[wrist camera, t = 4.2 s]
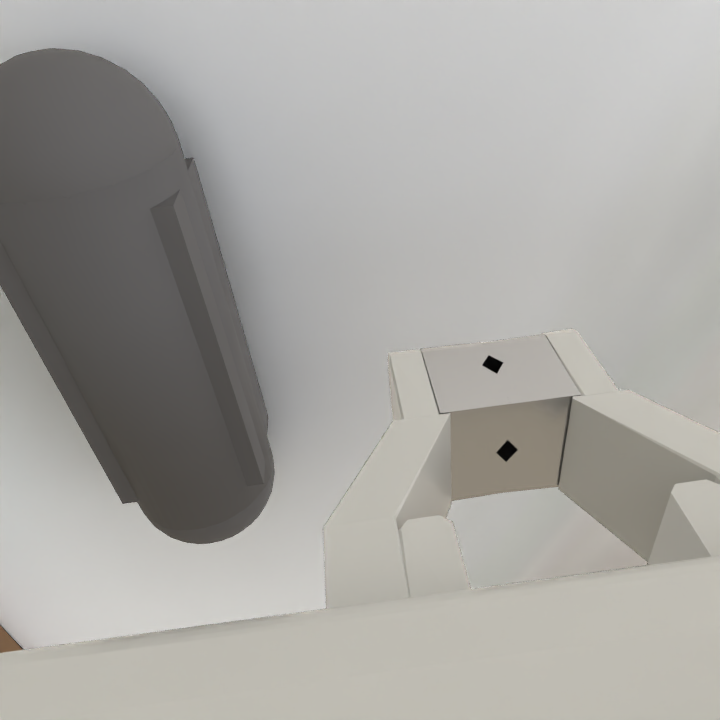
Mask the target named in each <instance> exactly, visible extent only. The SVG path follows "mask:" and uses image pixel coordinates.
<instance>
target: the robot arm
mask: <svg viewBox="0 0 720 720" xmlns="http://www.w3.org/2000/svg"><path fill="white" fill-rule="evenodd" d="M388 371H389V384H390V396H391V408H392V416H393V421H392V423H391V424H390V426H389V427H388V429H387V430H386V432H385V433H384V435H383V436H382V438H381V440H380V441H379V443H378V444H377V446H376V447H375V449H374V450H373V452H372V453H371V455H370V456H369V458H368V460H367V461H366V463H365V464H364V466H363V467H362V469H361V470H360V472H359V473H358V475H357V476H356V478H355V480H354V481H353V483H352V484H351V486H350V487H349V489H348V490H347V492H346V493H345V495H344V496H343V498H342V500H341V501H340V503H339V504H338V506H337V507H336V509H335V510H334V512H333V513H332V515H331V516H330V518H329V520H328V521H327V523H326V524H325V526H324V527H323V541H324V567H325V593H326V609H320V610H313V611H305V612H298V613H290V614H283V615H276V616H268V617H261V618H254V619H246V620H239V621H231V622H224V623H217V624H209V625H202V626H195V627H187V628H180V629H172V630H165V631H158V632H150V633H143V634H136V635H128V636H121V637H114V638H106V639H99V640H91V641H84V642H77V643H69V644H62V645H55V646H47V647H40V648H33V649H25V650H18V651H11V652H3V653H0V720H720V433H719V432H717V431H714V430H712V429H710V428H708V427H706V426H704V425H702V424H700V423H698V422H696V421H693V420H691V419H689V418H687V417H685V416H683V415H681V414H679V413H677V412H675V411H672V410H670V409H668V408H666V407H664V406H662V405H660V404H658V403H656V402H654V401H651V400H649V399H647V398H645V397H643V396H641V395H639V394H637V393H635V392H633V391H630V390H622V391H619V390H618V389H617V387H616V386H615V384H614V383H613V381H612V380H611V379H610V377H609V376H608V374H607V373H606V371H605V370H604V369H603V367H602V366H601V364H600V363H599V361H598V360H597V358H596V357H595V356H594V354H593V353H592V351H591V350H590V348H589V347H588V346H587V344H586V343H585V341H584V340H583V338H582V337H581V336H580V334H579V333H578V331H576V330H574V329H572V328H571V329H565V330H559V331H552V332H546V333H541V334H540V335H533V336H525V337H518V338H511V339H503V340H496V341H489V342H476V343H467V344H458V345H449V346H440V347H430V348H421V349H420V350H419V349H413V350H406V351H398V352H390V353H388ZM550 487H559V488H558V489H559V490H560V491H561V492H563V493H564V494H565V495H566V496H567V497H569V498H570V499H571V500H572V501H574V502H575V503H576V504H577V505H578V506H580V507H581V508H582V509H583V510H585V511H586V512H587V513H588V514H589V515H591V516H592V517H593V518H594V519H596V520H597V521H598V522H599V523H601V524H602V525H603V526H604V527H605V528H607V529H608V530H609V531H610V532H612V533H613V534H614V535H615V536H616V537H618V538H619V539H620V540H621V541H623V542H624V543H625V544H626V545H628V546H629V547H630V548H631V549H632V550H634V551H635V552H636V553H637V554H639V555H640V556H641V557H642V558H643V559H645V560H646V561H647V562H648V564H647V565H645V566H637V567H630V568H622V569H615V570H608V571H600V572H593V573H586V574H578V575H571V576H563V577H556V578H549V579H541V580H534V581H526V582H519V583H512V584H504V585H497V586H490V587H482V588H475V589H471V587H470V583H469V579H468V576H467V572H466V568H465V565H464V561H463V557H462V554H461V550H460V547H459V543H458V539H457V536H456V532H455V528H454V525H453V522H452V521H450V520H448V519H446V517H447V514H448V512H449V509H450V507H451V504H452V501H454V500H460V499H466V498H472V497H478V496H485V495H491V494H497V493H503V492H513V491H522V490H531V489H541V488H550Z"/></svg>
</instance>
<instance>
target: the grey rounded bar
mask: <svg viewBox="0 0 720 720" xmlns="http://www.w3.org/2000/svg"><path fill="white" fill-rule="evenodd" d="M0 285H1V287H2V289H3V291H4V292H5V294H6V296H7V298H8V300H9V301H10V303H11V305H12V307H13V308H14V310H15V312H16V314H17V316H18V317H19V319H20V321H21V323H22V325H23V326H24V328H25V330H26V332H27V333H28V335H29V337H30V339H31V341H32V342H33V344H34V346H35V348H36V350H37V351H38V353H39V355H40V357H41V359H42V360H43V362H44V364H45V366H46V367H47V369H48V371H49V373H50V375H51V376H52V378H53V380H54V382H55V384H56V385H57V387H58V389H59V391H60V392H61V394H62V396H63V398H64V400H65V401H66V403H67V405H68V407H69V409H70V410H71V412H72V414H73V416H74V417H75V419H76V421H77V423H78V425H79V426H80V428H81V430H82V432H83V434H84V435H85V437H86V439H87V441H88V442H89V444H90V446H91V448H92V450H93V451H94V453H95V455H96V457H97V459H98V460H99V462H100V464H101V466H102V468H103V469H104V471H105V473H106V475H107V476H108V478H109V480H110V482H111V484H112V485H113V487H114V489H115V491H116V493H117V494H118V496H119V498H120V500H121V501H122V503H123V504H124V503H131V502H138V504H139V506H140V507H141V509H142V511H143V512H144V514H145V515H146V516H147V518H148V519H149V520H150V521H151V523H152V524H153V525H154V526H155V527H156V528H158V529H159V530H161V531H162V532H163V533H165V534H167V535H168V536H170V537H171V538H174V539H177V540H180V541H183V542H187V543H194V544H208V543H214V542H218V541H222V540H225V539H227V538H230V537H232V536H234V535H236V534H238V533H239V532H241V531H243V530H244V529H245V528H246V527H248V526H249V525H250V524H252V522H253V521H254V520H255V519H256V518H257V517H258V516H259V515H260V513H261V512H262V510H263V509H264V507H265V505H266V503H267V501H268V499H269V496H270V494H271V492H272V486H273V480H274V462H273V455H272V451H271V448H270V445H269V441H268V438H267V426H268V415H267V411H266V408H265V404H264V401H263V398H262V394H261V391H260V387H259V384H258V380H257V377H256V373H255V370H254V366H253V363H252V359H251V356H250V352H249V349H248V345H247V342H246V339H245V335H244V332H243V328H242V325H241V321H240V318H239V314H238V311H237V307H236V304H235V300H234V297H233V293H232V290H231V287H230V283H229V280H228V276H227V273H226V269H225V266H224V262H223V259H222V255H221V252H220V248H219V245H218V241H217V238H216V234H215V231H214V228H213V224H212V221H211V217H210V214H209V210H208V207H207V203H206V200H205V196H204V193H203V189H202V186H201V182H200V179H199V175H198V172H197V169H196V165H195V162H194V158H189V159H184V156H183V152H182V149H181V146H180V142H179V139H178V137H177V135H176V132H175V130H174V127H173V125H172V122H171V120H170V118H169V117H168V115H167V114H166V112H165V110H164V109H163V107H162V106H161V104H160V102H159V101H158V99H157V98H156V97H155V96H154V95H153V94H152V93H151V92H150V91H149V90H148V88H147V87H146V86H145V85H144V84H143V83H142V82H140V81H139V80H138V79H137V78H135V77H134V76H133V75H131V74H130V73H129V72H127V71H126V70H125V69H123V68H121V67H119V66H117V65H115V64H113V63H111V62H109V61H107V60H105V59H104V58H101V57H98V56H95V55H92V54H88V53H85V52H82V51H77V50H66V49H55V48H53V49H43V50H37V51H32V52H27V53H23V54H20V55H17V56H15V57H13V58H11V59H9V60H7V61H6V62H4V63H2V64H0Z"/></svg>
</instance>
